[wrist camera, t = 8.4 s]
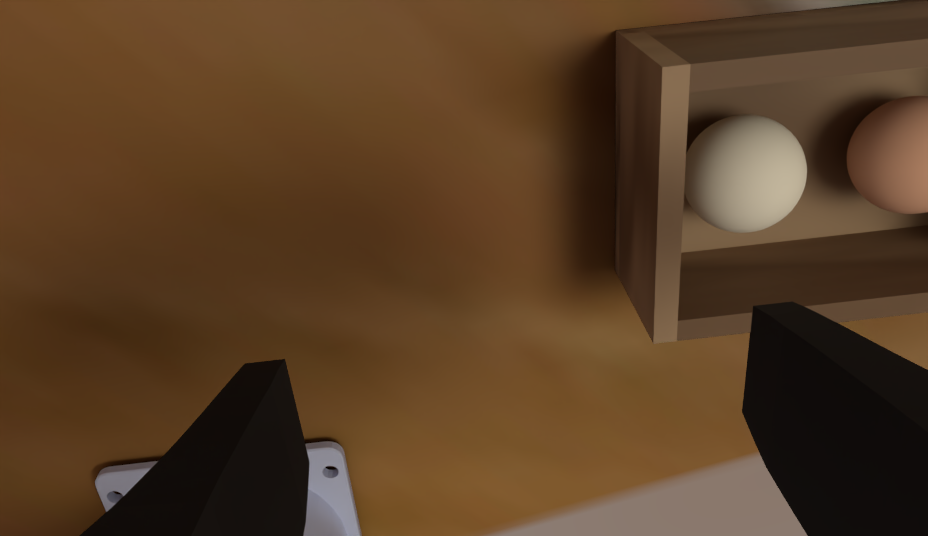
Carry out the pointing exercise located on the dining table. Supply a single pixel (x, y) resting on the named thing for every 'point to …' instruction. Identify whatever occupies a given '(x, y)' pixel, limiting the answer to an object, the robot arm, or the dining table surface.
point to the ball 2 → (892, 156)
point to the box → (825, 148)
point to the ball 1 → (744, 173)
